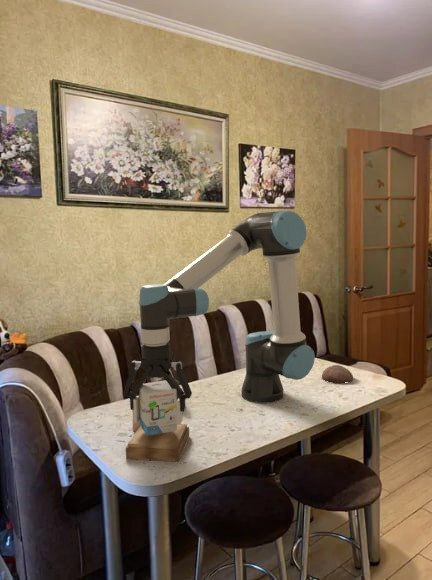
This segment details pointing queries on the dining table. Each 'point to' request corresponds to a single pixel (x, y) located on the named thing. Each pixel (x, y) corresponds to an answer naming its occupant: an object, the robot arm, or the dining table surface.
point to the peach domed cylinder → (135, 424)
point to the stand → (158, 445)
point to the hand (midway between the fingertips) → (158, 421)
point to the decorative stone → (337, 374)
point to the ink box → (157, 408)
